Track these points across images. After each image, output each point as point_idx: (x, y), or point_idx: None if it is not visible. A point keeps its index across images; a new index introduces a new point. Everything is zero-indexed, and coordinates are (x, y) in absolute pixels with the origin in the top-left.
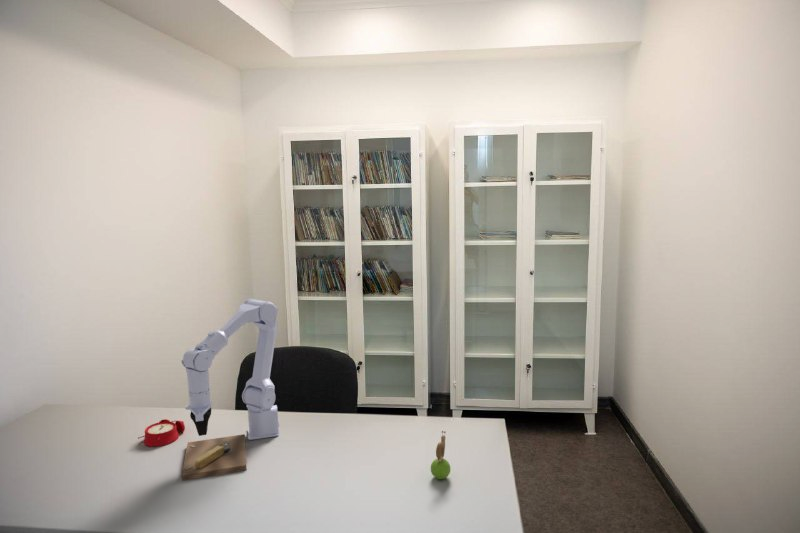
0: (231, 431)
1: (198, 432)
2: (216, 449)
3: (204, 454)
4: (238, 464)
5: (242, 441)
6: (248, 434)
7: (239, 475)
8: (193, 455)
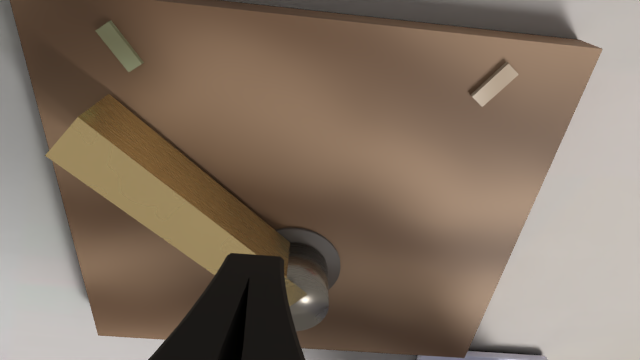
0: (597, 292)
1: (212, 284)
2: (220, 264)
3: (161, 191)
4: (111, 309)
5: (380, 343)
6: (476, 358)
7: (60, 284)
8: (330, 86)
